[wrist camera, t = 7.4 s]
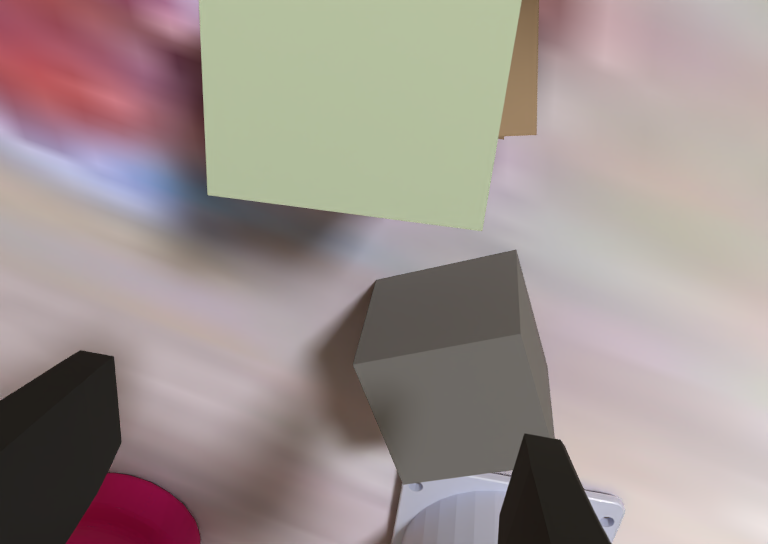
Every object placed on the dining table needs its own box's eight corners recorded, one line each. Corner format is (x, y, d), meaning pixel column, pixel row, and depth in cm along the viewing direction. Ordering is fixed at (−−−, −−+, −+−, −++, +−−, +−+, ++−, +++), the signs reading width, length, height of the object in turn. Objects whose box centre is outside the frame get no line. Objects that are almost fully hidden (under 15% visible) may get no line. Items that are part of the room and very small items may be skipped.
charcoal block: (547, 364, 24) (557, 463, 20) (417, 387, 25) (403, 484, 21) (516, 248, 22) (520, 333, 18) (376, 278, 23) (352, 364, 19)
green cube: (483, 136, 15) (481, 231, 12) (276, 111, 16) (207, 195, 12) (521, -100, 13) (535, -81, 9) (278, -125, 13) (193, -117, 10)
